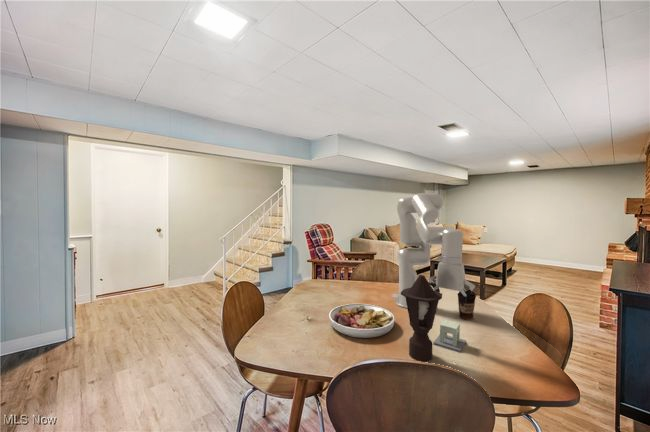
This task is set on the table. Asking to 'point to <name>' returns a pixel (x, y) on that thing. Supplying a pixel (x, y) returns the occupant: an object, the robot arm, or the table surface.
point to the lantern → (421, 317)
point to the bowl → (361, 320)
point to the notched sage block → (450, 331)
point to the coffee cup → (467, 306)
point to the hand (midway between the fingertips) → (449, 301)
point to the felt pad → (450, 343)
